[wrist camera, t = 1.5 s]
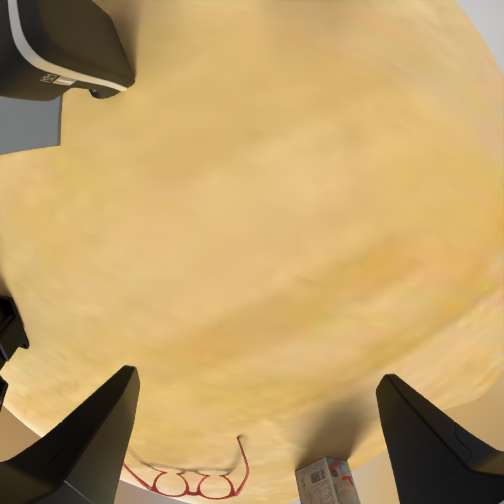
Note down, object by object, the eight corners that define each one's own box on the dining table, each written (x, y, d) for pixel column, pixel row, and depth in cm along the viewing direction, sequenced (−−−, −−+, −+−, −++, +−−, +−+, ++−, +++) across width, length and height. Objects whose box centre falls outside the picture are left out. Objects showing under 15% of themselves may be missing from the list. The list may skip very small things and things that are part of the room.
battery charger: (67, 41, 13) (-35, 4, 3) (111, 13, 13) (26, -54, 2) (93, 114, 16) (-27, 115, 5) (139, 86, 16) (40, 46, 5)
